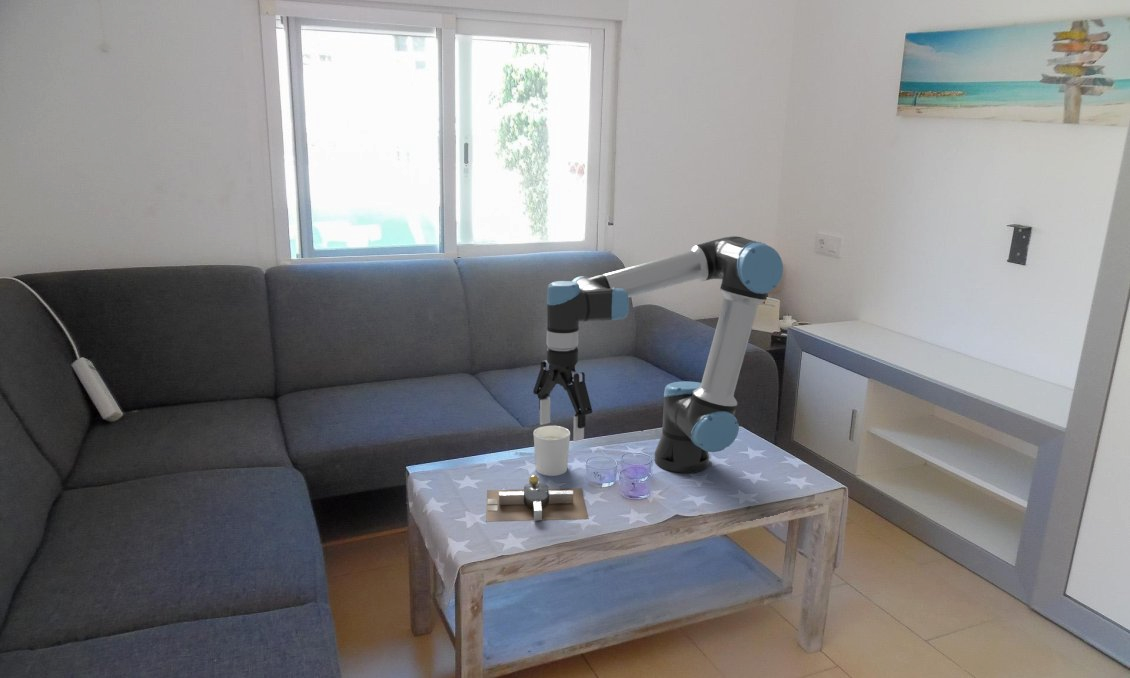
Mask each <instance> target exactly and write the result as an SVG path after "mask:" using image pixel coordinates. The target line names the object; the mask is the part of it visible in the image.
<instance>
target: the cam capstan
mask: <svg viewBox="0 0 1130 678" xmlns="http://www.w3.org/2000/svg"><path fill="white" fill-rule="evenodd" d="M523 489H524V491H520V492H499V505H512V504H524V505H525V506H526V507H528V508H532V509H533V513H534V520H533V521H543V520H542V508H544V507H546V506H547V505H548V503H549V504H554V503H573V497H574V493H573V490H565V491H549V489H550V487H549V485H547V484H545V483H543V482H540V478H539V476H538V475H536V474H531V475H530V476H529V478H528V483H527V484H525V485H524V486H523Z"/></svg>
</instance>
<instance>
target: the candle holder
mask: <svg viewBox="0 0 1130 678" xmlns="http://www.w3.org/2000/svg"><path fill="white" fill-rule="evenodd" d="M532 435H533V443H534V444H533V446H534V447H533V449H534V462H535V463H534V465H535V471H536V473H538V474H539V475H543V476H551V477H552V476H553V477H554V476H555V477H556V476H560V475H563V474H565V473H566V472H567V470H568V464H569V463H568V462H569V450H570V438H571V431H570V430H569V429H568V428H566V427H564V426H559V425H545V426H544V425H542V426H538V427H537V428H535V429H534V430H533V434H532Z"/></svg>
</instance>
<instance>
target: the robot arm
mask: <svg viewBox="0 0 1130 678" xmlns="http://www.w3.org/2000/svg"><path fill="white" fill-rule="evenodd" d="M783 274H784V264H783V260H782V258H781V256H780V254H779V252H778V251H777V250H776V249H775V248H773V247H772V246H770V245H768V244H766V243H764V242H761V241H756V240H752V239H747V238H745V237H741V236H737V235H736V236H734V235H733V236H725V237H722V238H721V237H720V238H717V239H715V240H714V239H713V240H709V241H705V242H704V243H703V242H702V243H700V244H695V245H693V246H692V247H691V249H690V250H688V251H684V252H681V253H678V254H673V255H670V256H666V257H661V258H660V259H659V258H658V259H655V260H651V261H647V262H644V263H641V264H640V263H639V264H636V265H632V266H629V267H624V268H621V269H618V270H615V271H611V272H607V273H603V274H599V275H598V274H597V275H595V276H591V277H590V276H584V275H580V276H577V277H575V278H573V280H557V281H553V282H551V283H549V284H548V286H547V292H546V294H547V295H546V344H545V345H546V346H547V348H546V360H542V361H540V367H539V368H540V370H539V373H538V376H537V379H536V382H535V384H534V385H535V386H534V388H533V392H532V393H533V395H537V398H538V404H539V407H538V408H539V409H538V410H539V425H540V426H544V425H547V424H550V423H551V398H550V396H551V393H552V391H553V389H554V388H555V387H556V385H560V386H561V387H563V389H564V391H566V393H567V395H568V398H569V400H570V403H571V404H572V407H573V409H574V412H575V414H573V423H572V424H573V425H572V427H573V429H572V430H573V432H572V434H573V435H572V437H573V439H572V441H574V442H577V441H581V440H583V439H585V427H586V416H587V415H590V414H592V413H593V409H592V408H593V407H592V405H591V404H592V403H591V400H590V397H589V392H588V389H587V384H586V377H585V376H586V374H585V372H582V371H581V372H577V371H576V364H578V362H579V348H578V346H579V329H580V327H579V326H580V325H579V324H580V322H581V323H582V322H583V323H584V322H599V321H600V322H604V321H605V322H607V321H617V320H623V319H626V318H627V317H628V315H629V310H630V300H629V298H633V297H637V296H639V295H643V294H647V293H650V292H651V293H652V292H654V291H658V290H661V289H662V290H663V289H665V288H668V287H673V286H676V285H679V284H683V283H688V282H690V281H691V282H692V281H694V280H699V281H700V282H705V281H711V280H721V284H720V289H719V290H720V292H721V294H722V295H723V301H722V303H721V304H722V305H721V309H720V312H719V315H718V321H717V324H716V327H715V332H714V335H713V339H712V342H711V345H710V350H709V353H708V357H707V361H706V364H705V368H704V372H703V375H702V380H701V382H697V381H690V380H689V381H686V380H685V381H674V382H670V383H668V384H667V385H665V387H664V393H663V408H662V409H663V410H662V411H663V412H662V431H661V436H660V438H659V440H658V444H657V446H656V448H655V452H654V462H655V464H656V465H657V466H658V467H660V468H661V469H664V470H666V471H670V472H673V473H674V472H675V473H680V474H681V473H682V474H683V473H684V474H685V473H686V474H689V473H690V474H691V473H698V472H702V471H704V470H706V469H707V468H708V467H709V465H710V453H716V452H721V451H724V450H725V449H726V448H728V447H730V446H731V445H732V444H733V443H734V442H735V440H736V438H737V437H738V435H739V431H740V427H739V426H740V425H739V422H738V419H737V418H736V416H735V414H736V411H737V410H736V409H737V406H738V401H737V399H736V398H735V396H734V395H735V391H736V387H737V384H738V381H739V377H740V372H741V369H742V365H743V363H744V358H745V355H746V351H747V347H748V344H749V340H750V337H751V333H752V329H753V326H754V321H755V319H756V314H757V311H758V307H759V306H760V304H763V303H765V302H767V298H768V295H769V293H770V292H771V291H773V290H774V288H777V286H778V285H779V284H780V283H781V280H782V277H783Z"/></svg>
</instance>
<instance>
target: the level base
mask: <svg viewBox="0 0 1130 678" xmlns="http://www.w3.org/2000/svg"><path fill="white" fill-rule="evenodd" d="M565 490H573V493H574V497H573V503H554V504H549V503H548V505H547V506H546V507H544V508H542V520H541V521H559V520H560V521H562V520H564V521H565V520H568V521H569V520H589V519H590V518H589V514H588V510H587V509H588V508H587V505H586V501H585V500H586V499H585V496H584V493H583V492H584V491H583V487H579V488H578V487H574V488H573V487H571V488H570V487H569V488H549V491H565ZM520 491H524V488H523V489H489V490H486V516H485V517H486V518H485V519H486V520H485V521H486V523H487V522H491V523H492V522H523V521H524V522H525V521H527V522H528V521H535V520H534V513H533V509H532V508H528V507H526V506H525V505H524V504H512V505H499V492H520Z"/></svg>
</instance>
